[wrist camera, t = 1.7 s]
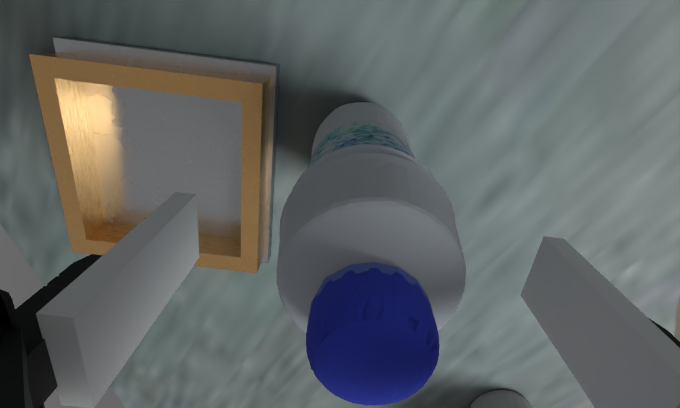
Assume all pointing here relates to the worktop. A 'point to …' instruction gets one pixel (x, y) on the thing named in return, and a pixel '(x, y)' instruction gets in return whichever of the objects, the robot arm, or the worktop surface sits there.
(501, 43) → the worktop surface
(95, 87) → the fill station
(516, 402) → the coffee cup
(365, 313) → the bottle
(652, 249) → the worktop surface
